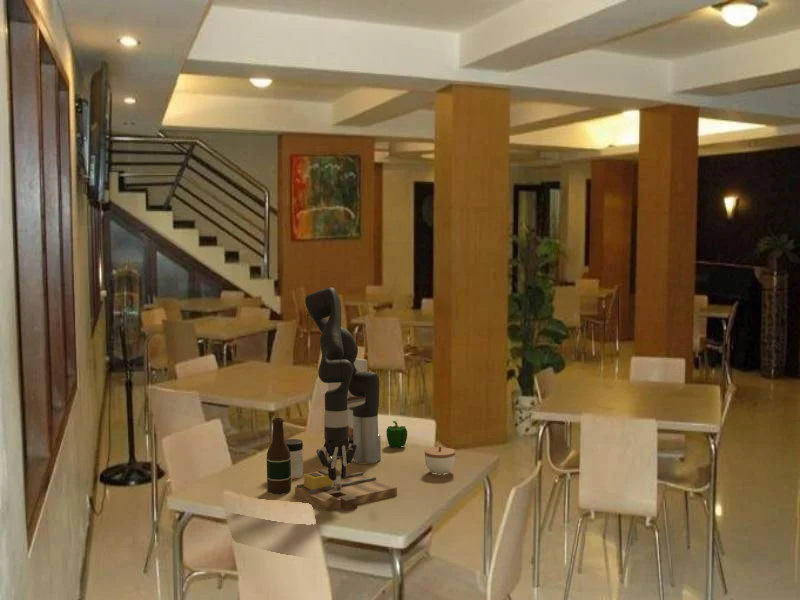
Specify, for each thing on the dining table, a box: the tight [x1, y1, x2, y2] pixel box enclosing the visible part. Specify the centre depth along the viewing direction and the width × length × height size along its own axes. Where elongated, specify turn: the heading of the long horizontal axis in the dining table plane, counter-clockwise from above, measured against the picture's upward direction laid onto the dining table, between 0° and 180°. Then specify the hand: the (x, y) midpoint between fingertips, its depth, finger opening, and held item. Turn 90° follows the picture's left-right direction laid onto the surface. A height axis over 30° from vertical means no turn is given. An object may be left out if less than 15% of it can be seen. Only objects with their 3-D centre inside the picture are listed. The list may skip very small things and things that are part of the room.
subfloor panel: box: [294, 471, 398, 512], centre depth 272 cm, size 26×26×3 cm
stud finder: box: [303, 469, 333, 490], centre depth 273 cm, size 7×6×4 cm
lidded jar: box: [424, 445, 456, 474], centre depth 297 cm, size 11×11×9 cm
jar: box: [284, 438, 304, 480], centre depth 295 cm, size 9×8×12 cm
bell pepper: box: [385, 420, 408, 448], centre depth 335 cm, size 8×8×10 cm
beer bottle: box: [266, 417, 292, 495], centre depth 277 cm, size 8×8×24 cm
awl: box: [334, 456, 342, 491], centre depth 264 cm, size 3×3×10 cm
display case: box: [327, 357, 369, 453], centre depth 332 cm, size 11×11×35 cm
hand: (337, 478), depth 264 cm, fingers closed on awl, 3 cm apart
